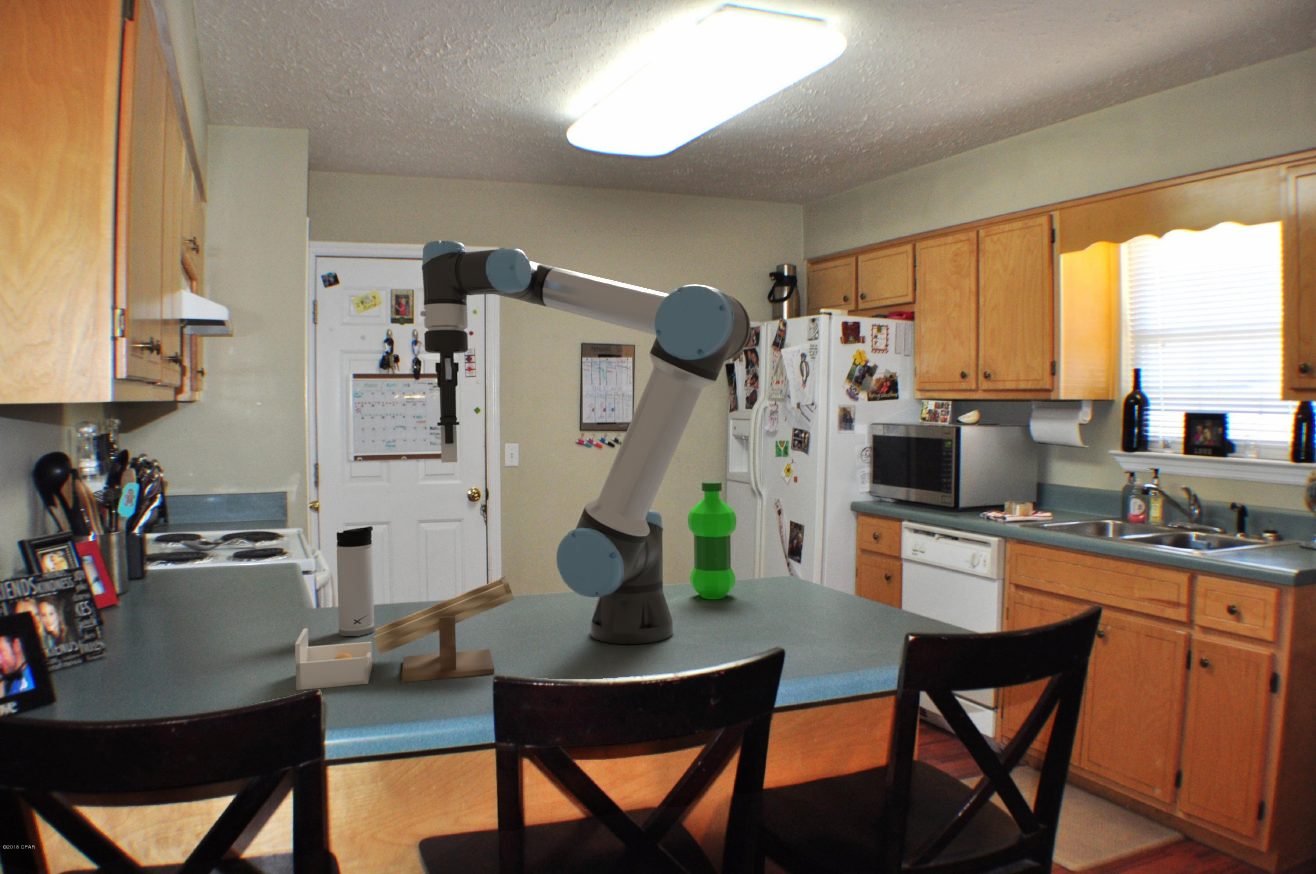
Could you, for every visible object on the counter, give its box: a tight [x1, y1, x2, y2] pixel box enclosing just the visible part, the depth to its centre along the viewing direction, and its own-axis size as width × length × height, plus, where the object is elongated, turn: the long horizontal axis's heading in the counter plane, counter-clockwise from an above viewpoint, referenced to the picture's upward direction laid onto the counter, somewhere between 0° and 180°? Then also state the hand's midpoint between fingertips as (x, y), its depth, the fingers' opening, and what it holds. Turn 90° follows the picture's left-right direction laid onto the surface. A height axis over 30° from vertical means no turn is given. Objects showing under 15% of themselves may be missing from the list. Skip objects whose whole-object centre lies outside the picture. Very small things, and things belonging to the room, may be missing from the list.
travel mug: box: [336, 525, 375, 637], centre depth 159 cm, size 6×7×20 cm
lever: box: [373, 576, 515, 655], centre depth 141 cm, size 22×12×3 cm, turn 105°
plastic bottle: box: [687, 481, 737, 600], centre depth 186 cm, size 10×10×25 cm
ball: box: [334, 653, 353, 659], centre depth 134 cm, size 3×3×3 cm
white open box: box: [294, 627, 373, 691], centre depth 133 cm, size 10×9×7 cm
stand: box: [401, 615, 495, 683], centre depth 138 cm, size 14×11×9 cm
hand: (449, 461), depth 153 cm, fingers closed
